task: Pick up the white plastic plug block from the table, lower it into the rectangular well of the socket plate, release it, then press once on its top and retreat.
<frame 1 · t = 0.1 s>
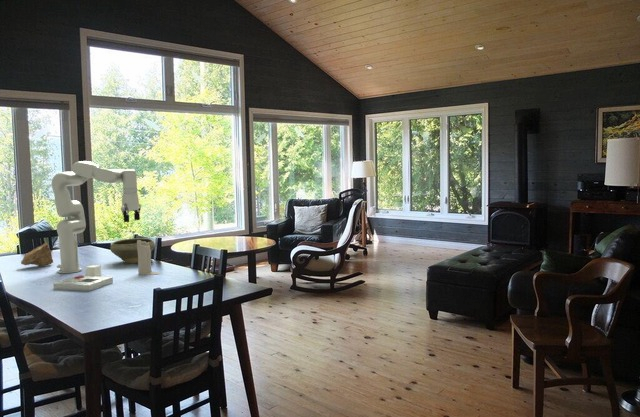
hand: (132, 220, 288), 31 cm above the table, tool pointing down, fingers open, 9 cm apart
plug: (93, 278, 282), on the table
bowl: (133, 261, 330), on the table
socket plate: (83, 285, 265), on the table
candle: (150, 273, 292), on the table
stone: (37, 267, 320), on the table
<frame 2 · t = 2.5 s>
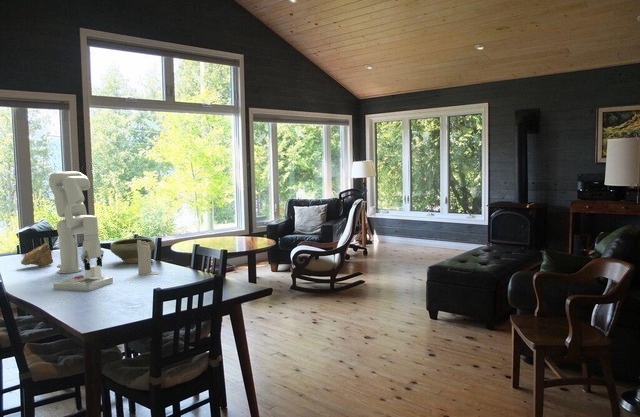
hand: (93, 268, 281), 6 cm above the table, tool pointing down, fingers open, 9 cm apart
nothing on the table moved.
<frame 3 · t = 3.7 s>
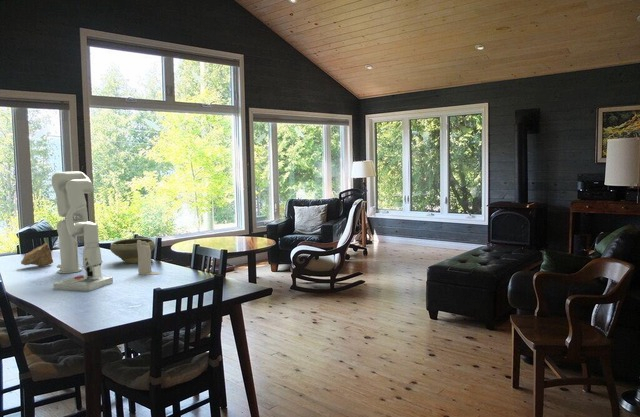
hand: (93, 276, 282), 1 cm above the table, tool pointing down, fingers closed on plug, 5 cm apart
plug: (93, 278, 282), on the table, touching gripper
everything else where it was.
when the fingers open (4 cm above the table, at t = 8.1 s): plug drops 3 cm, resting in socket plate.
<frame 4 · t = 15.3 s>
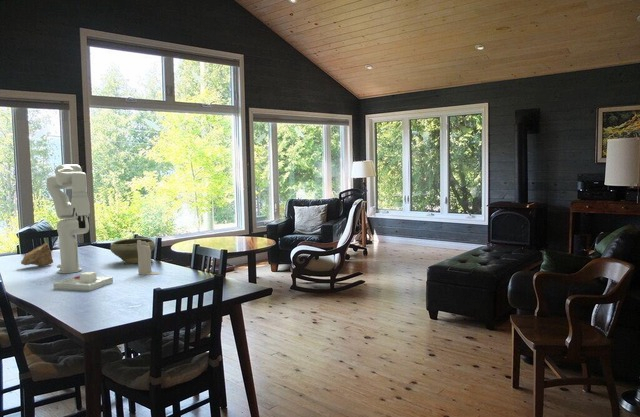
hand: (82, 228, 276), 29 cm above the table, tool pointing down, fingers closed
plug: (88, 286, 264), resting in socket plate
everything else where it was.
at the end: plug 0.0 cm from the target spot on the socket plate, point 0.0 cm above the socket plate's base; plug tilted 0°; the gripper is holding nothing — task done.
